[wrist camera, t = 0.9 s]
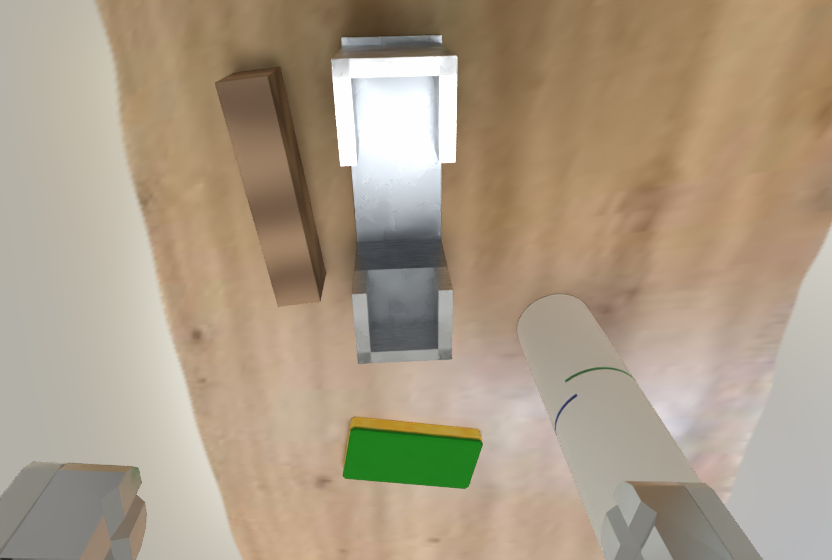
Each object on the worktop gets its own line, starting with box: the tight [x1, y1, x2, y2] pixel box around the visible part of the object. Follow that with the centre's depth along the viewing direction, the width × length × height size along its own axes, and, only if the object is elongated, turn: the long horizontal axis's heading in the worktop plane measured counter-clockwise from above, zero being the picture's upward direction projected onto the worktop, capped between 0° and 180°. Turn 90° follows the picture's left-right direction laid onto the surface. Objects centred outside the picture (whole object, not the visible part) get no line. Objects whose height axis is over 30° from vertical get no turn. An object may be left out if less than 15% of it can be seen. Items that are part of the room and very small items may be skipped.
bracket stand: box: [331, 35, 457, 364], centre depth 38 cm, size 22×7×10 cm, turn 1°
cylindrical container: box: [517, 294, 702, 560], centre depth 39 cm, size 7×7×25 cm
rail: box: [215, 67, 326, 307], centre depth 40 cm, size 17×3×5 cm, turn 6°
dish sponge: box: [343, 417, 483, 489], centre depth 56 cm, size 7×14×2 cm, turn 79°
